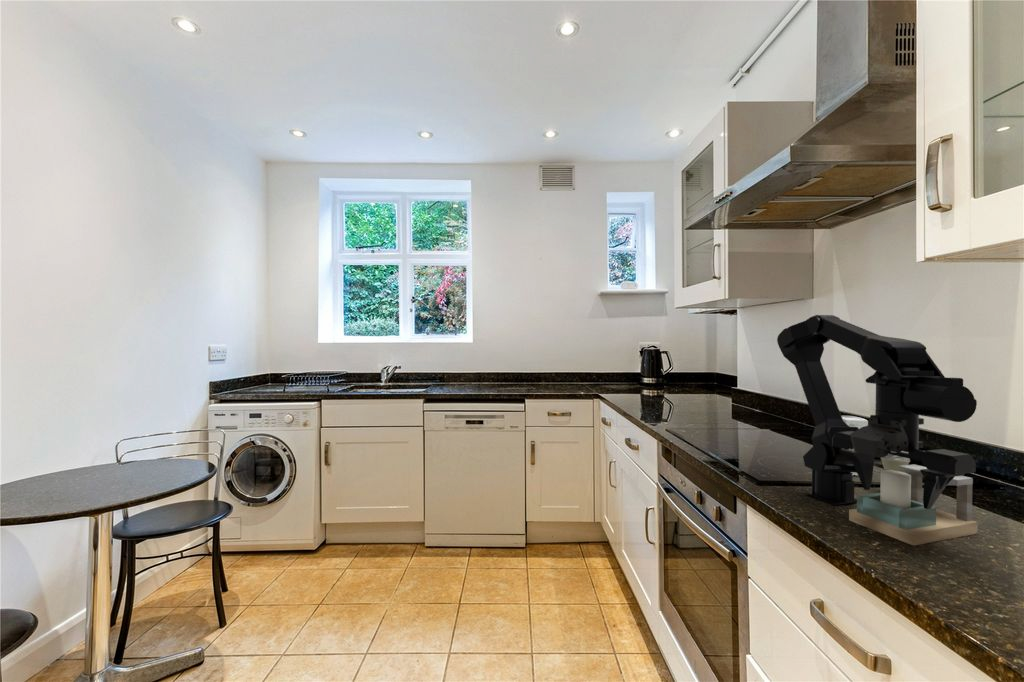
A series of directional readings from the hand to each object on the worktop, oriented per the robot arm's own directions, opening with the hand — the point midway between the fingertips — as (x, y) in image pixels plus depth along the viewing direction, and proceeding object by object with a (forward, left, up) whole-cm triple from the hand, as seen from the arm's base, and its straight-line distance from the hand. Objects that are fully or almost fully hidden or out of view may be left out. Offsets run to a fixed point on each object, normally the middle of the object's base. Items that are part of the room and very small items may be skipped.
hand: (895, 498), depth 75 cm
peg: (0, 0, -4) cm, 4 cm away
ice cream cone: (-12, +20, -6) cm, 24 cm away
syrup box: (-26, +26, -6) cm, 37 cm away
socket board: (0, +4, -6) cm, 7 cm away
